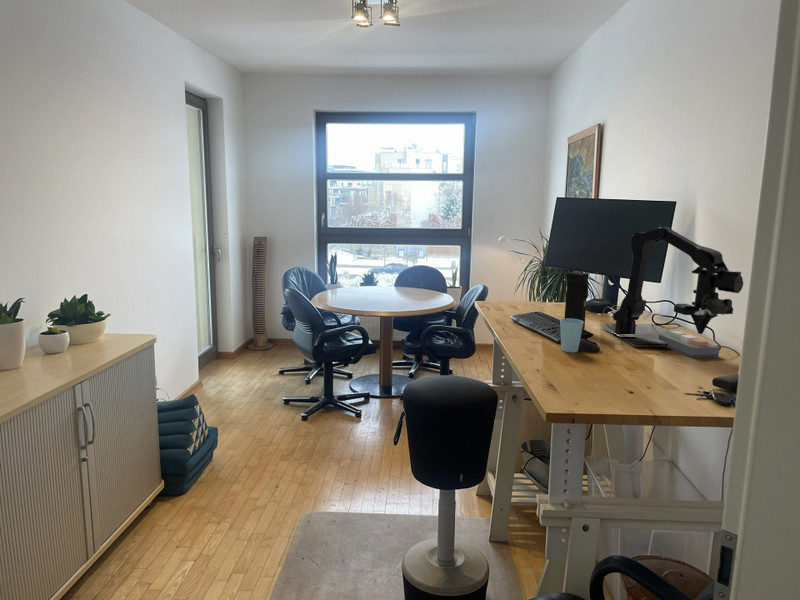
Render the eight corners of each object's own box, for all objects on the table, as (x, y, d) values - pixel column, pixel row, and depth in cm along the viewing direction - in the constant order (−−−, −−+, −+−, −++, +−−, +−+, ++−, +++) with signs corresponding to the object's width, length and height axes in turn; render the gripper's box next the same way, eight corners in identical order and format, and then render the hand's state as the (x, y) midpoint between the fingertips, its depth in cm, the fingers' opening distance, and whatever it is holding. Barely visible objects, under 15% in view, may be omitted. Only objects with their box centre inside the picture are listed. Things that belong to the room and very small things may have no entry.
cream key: (686, 344, 199) (687, 337, 199) (679, 342, 203) (680, 335, 202) (695, 344, 200) (696, 337, 199) (688, 341, 203) (689, 334, 203)
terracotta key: (697, 349, 194) (698, 342, 193) (690, 346, 197) (691, 339, 197) (707, 348, 195) (708, 341, 194) (699, 346, 198) (700, 338, 198)
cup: (564, 353, 193) (567, 323, 192) (553, 347, 201) (556, 318, 199) (585, 353, 195) (587, 323, 193) (573, 347, 203) (576, 318, 201)
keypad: (692, 358, 192) (693, 348, 191) (658, 343, 209) (659, 334, 209) (718, 357, 194) (719, 347, 193) (682, 343, 211) (683, 333, 211)
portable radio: (587, 330, 228) (593, 267, 223) (580, 332, 224) (586, 268, 219) (569, 326, 233) (574, 265, 228) (562, 328, 229) (567, 266, 224)
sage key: (676, 340, 204) (677, 333, 204) (669, 338, 208) (670, 331, 207) (685, 340, 205) (686, 333, 205) (678, 337, 209) (679, 331, 208)
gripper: (698, 293, 182) (692, 340, 185) (749, 292, 186) (742, 339, 189) (675, 287, 193) (669, 332, 196) (723, 286, 197) (717, 330, 200)
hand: (700, 333), depth 195 cm, fingers closed
